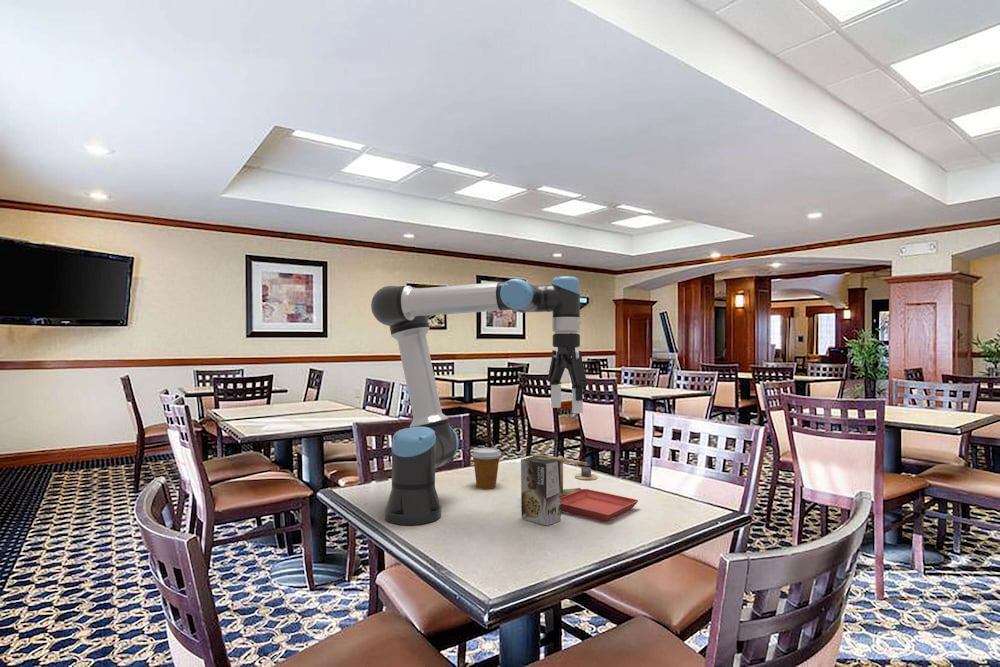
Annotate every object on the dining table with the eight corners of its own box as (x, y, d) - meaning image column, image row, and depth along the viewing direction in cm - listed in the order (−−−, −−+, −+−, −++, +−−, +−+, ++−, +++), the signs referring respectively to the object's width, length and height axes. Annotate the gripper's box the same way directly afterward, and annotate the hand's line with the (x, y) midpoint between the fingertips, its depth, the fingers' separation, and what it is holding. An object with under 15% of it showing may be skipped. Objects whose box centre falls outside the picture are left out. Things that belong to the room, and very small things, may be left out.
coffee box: (561, 520, 146) (561, 459, 146) (546, 526, 141) (546, 463, 141) (535, 513, 152) (535, 455, 152) (520, 518, 147) (520, 458, 148)
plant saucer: (639, 510, 156) (639, 499, 156) (608, 526, 142) (608, 513, 142) (584, 499, 168) (584, 488, 168) (550, 512, 154) (551, 500, 154)
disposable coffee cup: (498, 491, 175) (498, 453, 175) (468, 489, 176) (469, 452, 177) (502, 483, 184) (502, 447, 185) (474, 482, 186) (475, 447, 186)
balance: (527, 504, 161) (527, 456, 161) (518, 497, 167) (518, 452, 168) (601, 496, 169) (601, 452, 169) (590, 491, 175) (590, 448, 175)
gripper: (600, 332, 140) (600, 415, 140) (559, 334, 164) (559, 405, 164) (574, 331, 138) (574, 416, 138) (536, 333, 162) (536, 405, 161)
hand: (566, 410), depth 151 cm, fingers open, 13 cm apart
